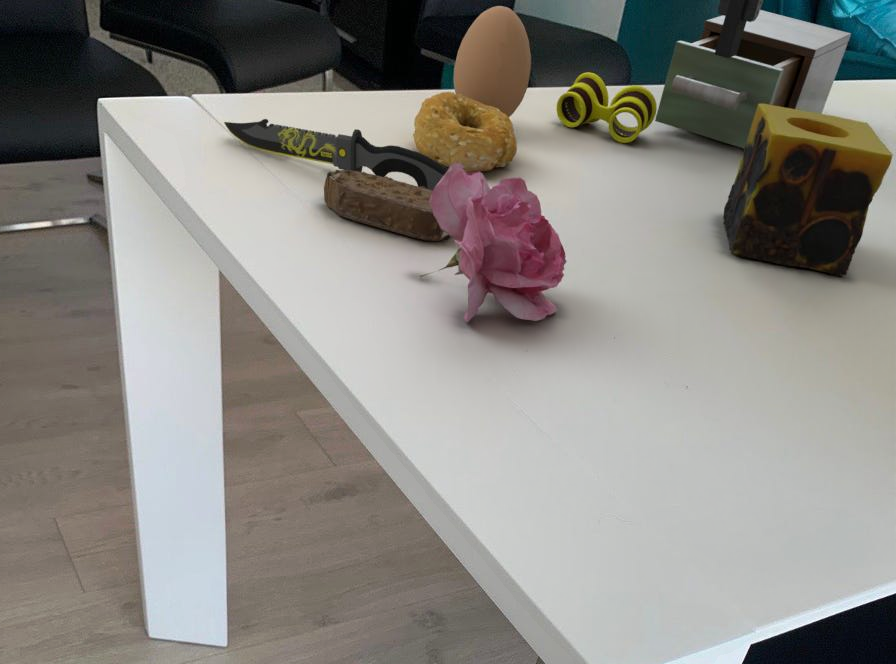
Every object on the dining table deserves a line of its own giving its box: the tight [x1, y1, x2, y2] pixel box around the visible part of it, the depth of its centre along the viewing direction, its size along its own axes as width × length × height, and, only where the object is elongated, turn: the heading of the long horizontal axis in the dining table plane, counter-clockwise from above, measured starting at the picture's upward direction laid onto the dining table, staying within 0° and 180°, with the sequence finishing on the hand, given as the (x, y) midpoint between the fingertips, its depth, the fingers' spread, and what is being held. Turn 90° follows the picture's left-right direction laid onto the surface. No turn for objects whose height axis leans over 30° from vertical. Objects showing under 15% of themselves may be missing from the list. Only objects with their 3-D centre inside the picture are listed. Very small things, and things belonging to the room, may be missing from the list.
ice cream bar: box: [323, 169, 451, 242], centre depth 81 cm, size 5×15×3 cm, turn 70°
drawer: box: [654, 34, 805, 150], centre depth 112 cm, size 19×12×8 cm, turn 148°
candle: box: [722, 104, 894, 277], centre depth 88 cm, size 10×10×10 cm
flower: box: [419, 163, 568, 324], centre depth 72 cm, size 11×10×10 cm
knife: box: [223, 118, 449, 191], centre depth 88 cm, size 23×2×5 cm, turn 62°
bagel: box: [412, 91, 518, 173], centre depth 96 cm, size 10×11×5 cm
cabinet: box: [699, 9, 852, 114], centre depth 121 cm, size 16×13×10 cm
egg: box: [453, 5, 532, 119], centre depth 103 cm, size 8×8×11 cm
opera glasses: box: [556, 71, 658, 144], centre depth 109 cm, size 10×5×5 cm, turn 62°
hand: (725, 54), depth 105 cm, fingers closed
